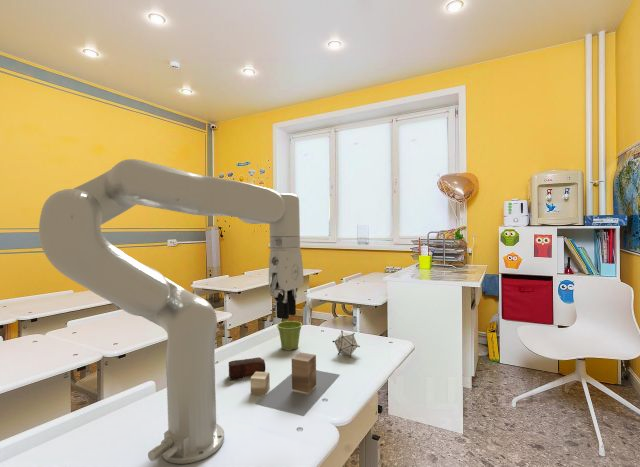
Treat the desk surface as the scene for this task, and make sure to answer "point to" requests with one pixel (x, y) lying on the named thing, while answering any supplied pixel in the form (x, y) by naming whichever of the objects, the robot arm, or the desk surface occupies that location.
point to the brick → (245, 368)
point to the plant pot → (289, 334)
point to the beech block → (260, 383)
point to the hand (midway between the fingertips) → (286, 315)
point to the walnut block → (304, 373)
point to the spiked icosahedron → (346, 343)
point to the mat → (297, 394)
